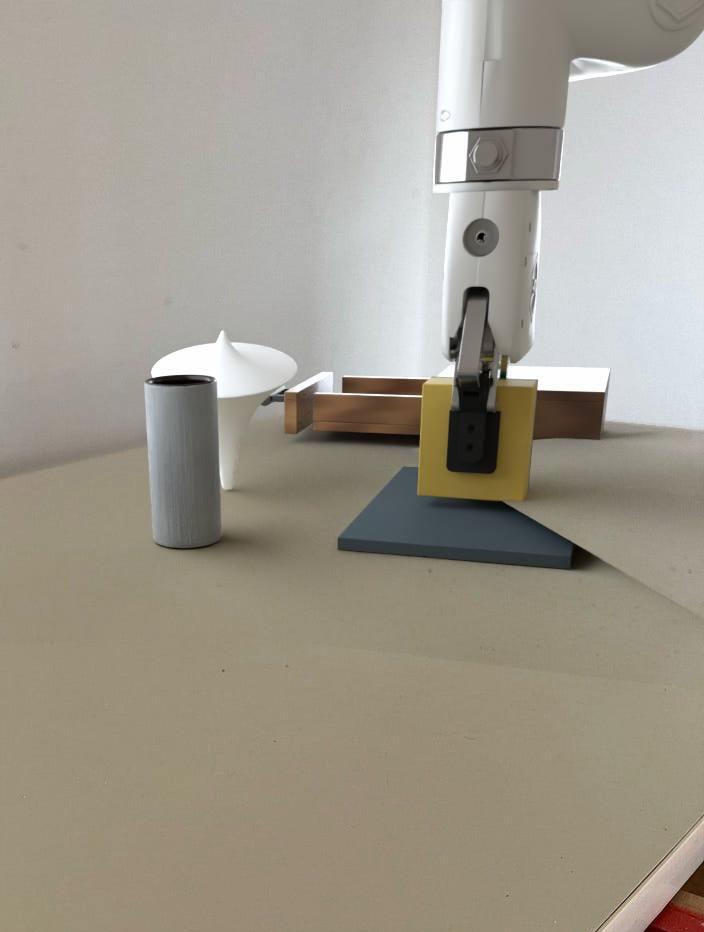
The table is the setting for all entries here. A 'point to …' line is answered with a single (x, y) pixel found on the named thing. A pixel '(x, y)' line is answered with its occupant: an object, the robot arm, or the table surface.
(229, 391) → the white spinning top
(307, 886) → the table surface
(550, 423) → the cabinet
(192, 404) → the planter
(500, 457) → the sponge
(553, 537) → the mat
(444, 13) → the robot arm
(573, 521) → the table surface
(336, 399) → the drawer
